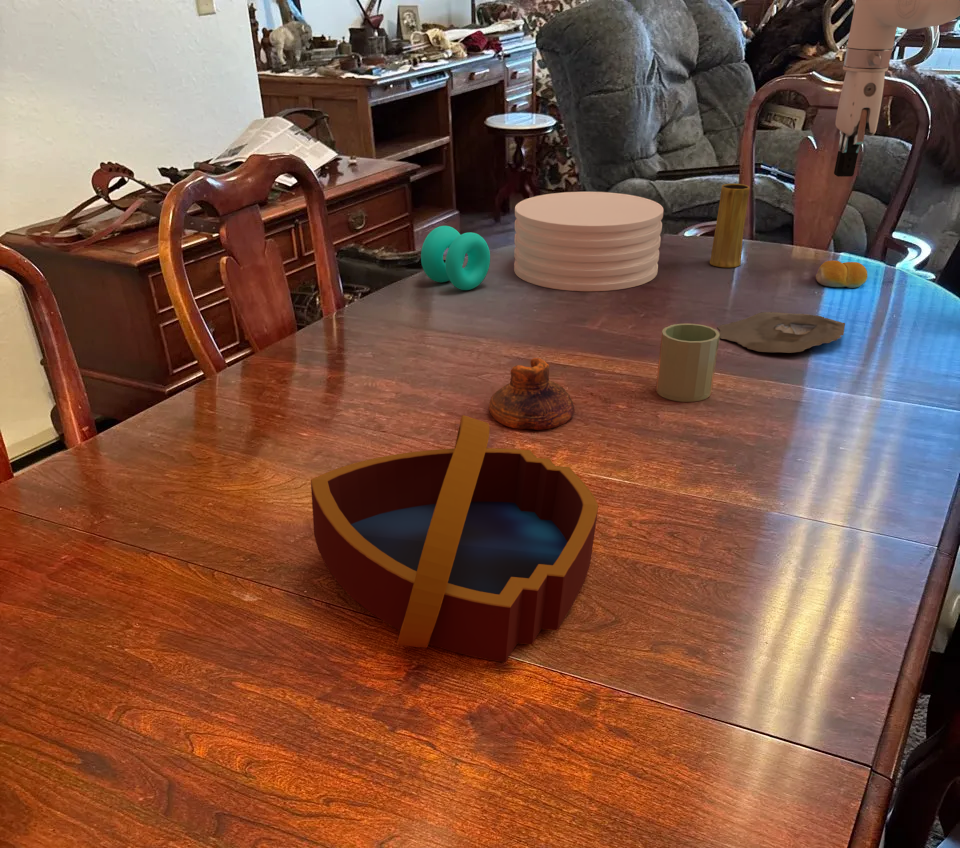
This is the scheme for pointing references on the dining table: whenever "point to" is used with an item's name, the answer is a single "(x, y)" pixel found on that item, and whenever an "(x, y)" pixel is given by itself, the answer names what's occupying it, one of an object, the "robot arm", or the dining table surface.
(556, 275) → the plate stack
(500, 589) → the decorative basket
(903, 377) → the dining table surface
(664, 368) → the teacup
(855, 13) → the robot arm
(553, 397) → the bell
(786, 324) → the fabric swatch
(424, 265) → the donuts
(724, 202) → the vase
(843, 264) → the bread roll
